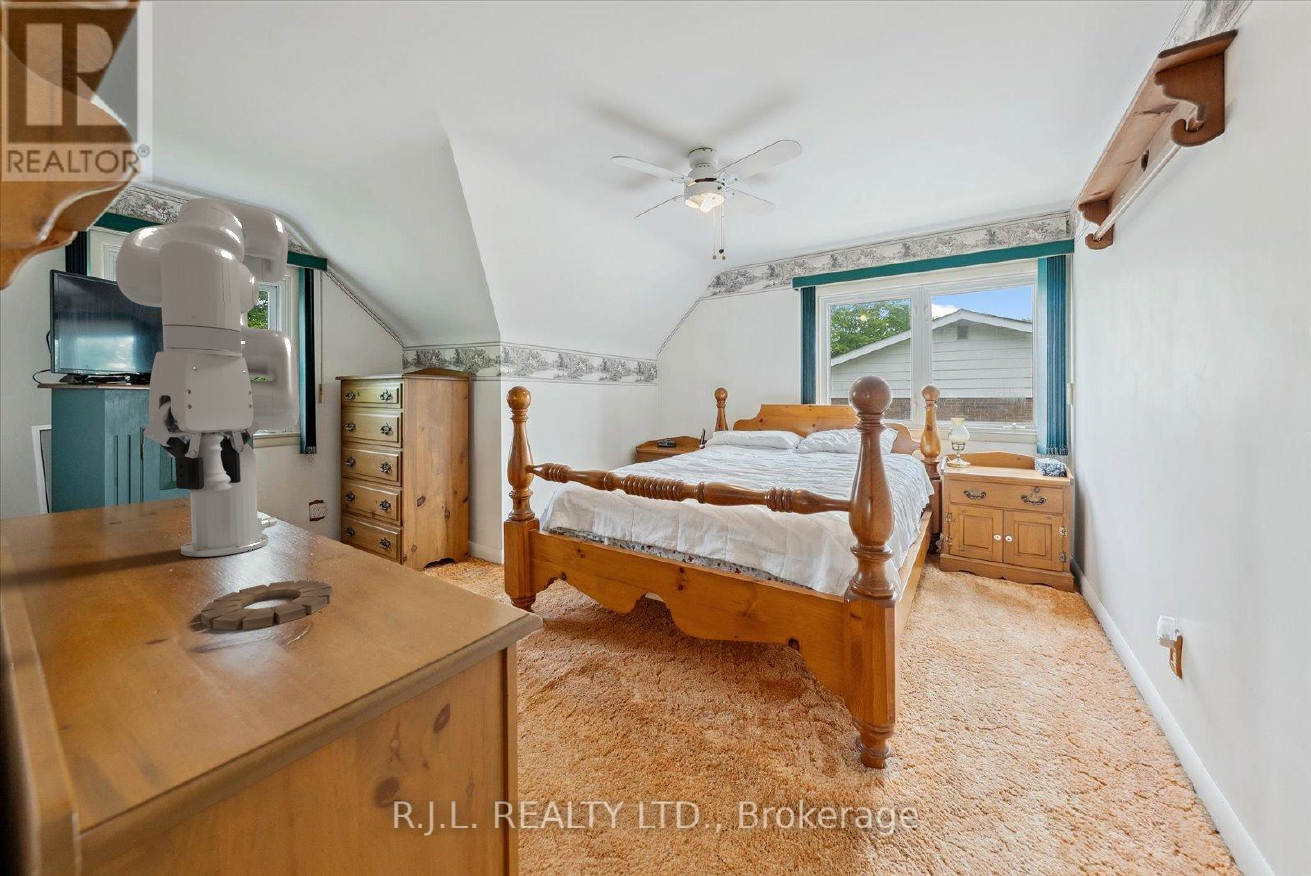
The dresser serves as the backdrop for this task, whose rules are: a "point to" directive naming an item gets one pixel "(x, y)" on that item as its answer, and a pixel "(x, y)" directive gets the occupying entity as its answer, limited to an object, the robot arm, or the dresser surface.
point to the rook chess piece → (212, 465)
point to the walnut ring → (234, 615)
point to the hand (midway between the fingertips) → (209, 484)
